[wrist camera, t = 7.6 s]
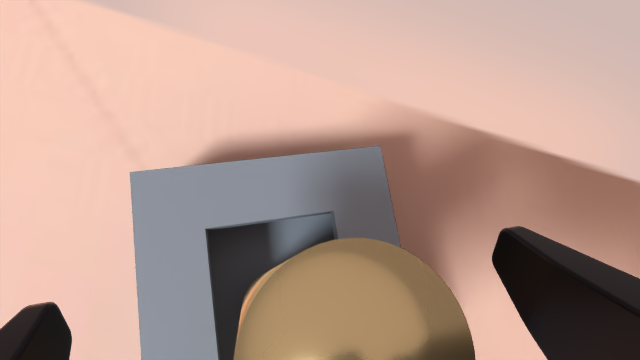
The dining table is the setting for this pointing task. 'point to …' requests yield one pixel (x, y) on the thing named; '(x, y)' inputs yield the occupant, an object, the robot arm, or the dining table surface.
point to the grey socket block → (240, 237)
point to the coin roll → (352, 308)
